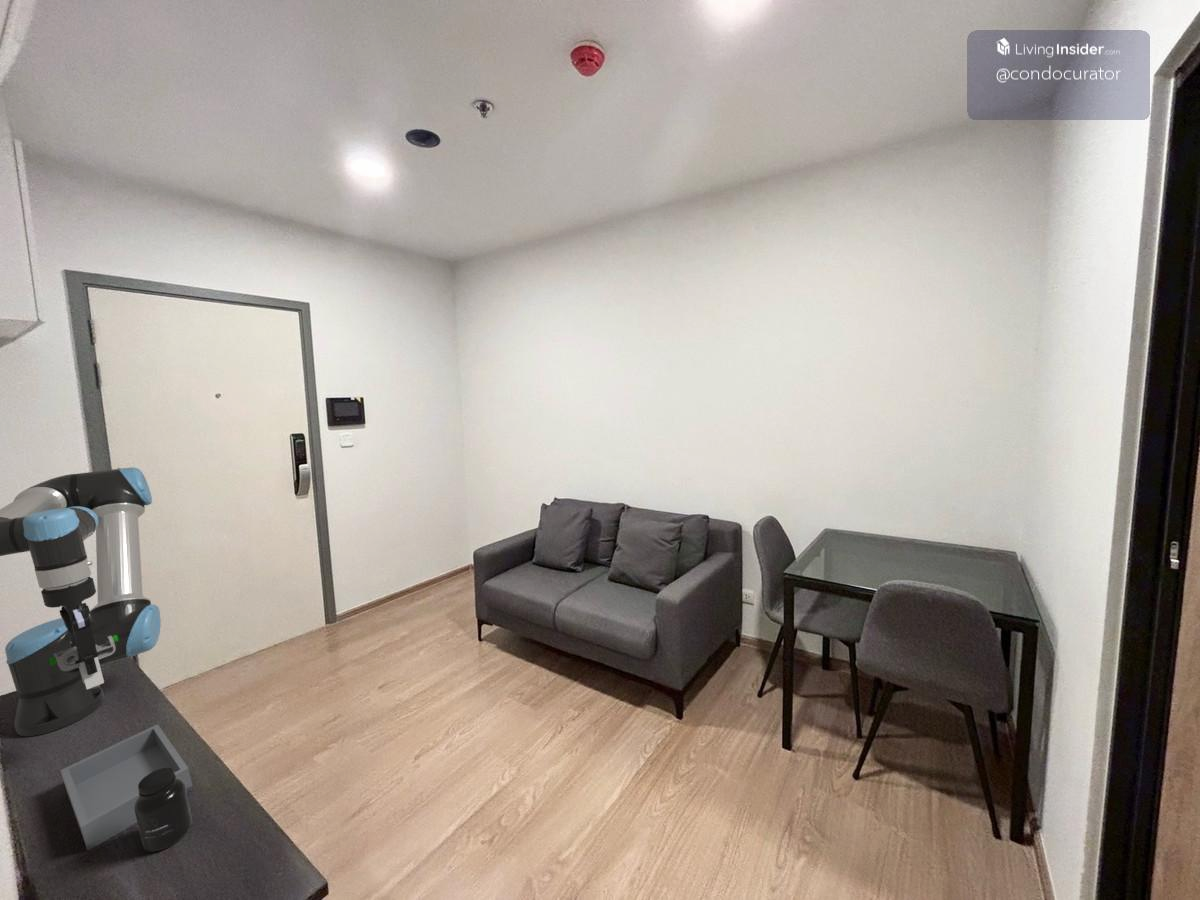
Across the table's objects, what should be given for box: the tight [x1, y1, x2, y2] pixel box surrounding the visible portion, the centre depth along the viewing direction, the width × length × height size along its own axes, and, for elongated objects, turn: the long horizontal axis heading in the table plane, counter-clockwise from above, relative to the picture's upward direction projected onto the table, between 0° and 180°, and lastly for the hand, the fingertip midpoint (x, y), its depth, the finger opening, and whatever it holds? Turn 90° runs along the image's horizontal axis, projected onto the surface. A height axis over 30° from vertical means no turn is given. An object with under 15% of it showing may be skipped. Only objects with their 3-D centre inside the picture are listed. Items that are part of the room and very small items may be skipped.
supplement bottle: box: [134, 767, 193, 853], centre depth 88 cm, size 7×7×12 cm
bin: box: [60, 723, 194, 852], centre depth 98 cm, size 22×15×5 cm
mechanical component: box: [49, 635, 118, 689], centre depth 107 cm, size 3×10×10 cm, turn 145°
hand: (93, 682), depth 108 cm, fingers closed on mechanical component, 3 cm apart
